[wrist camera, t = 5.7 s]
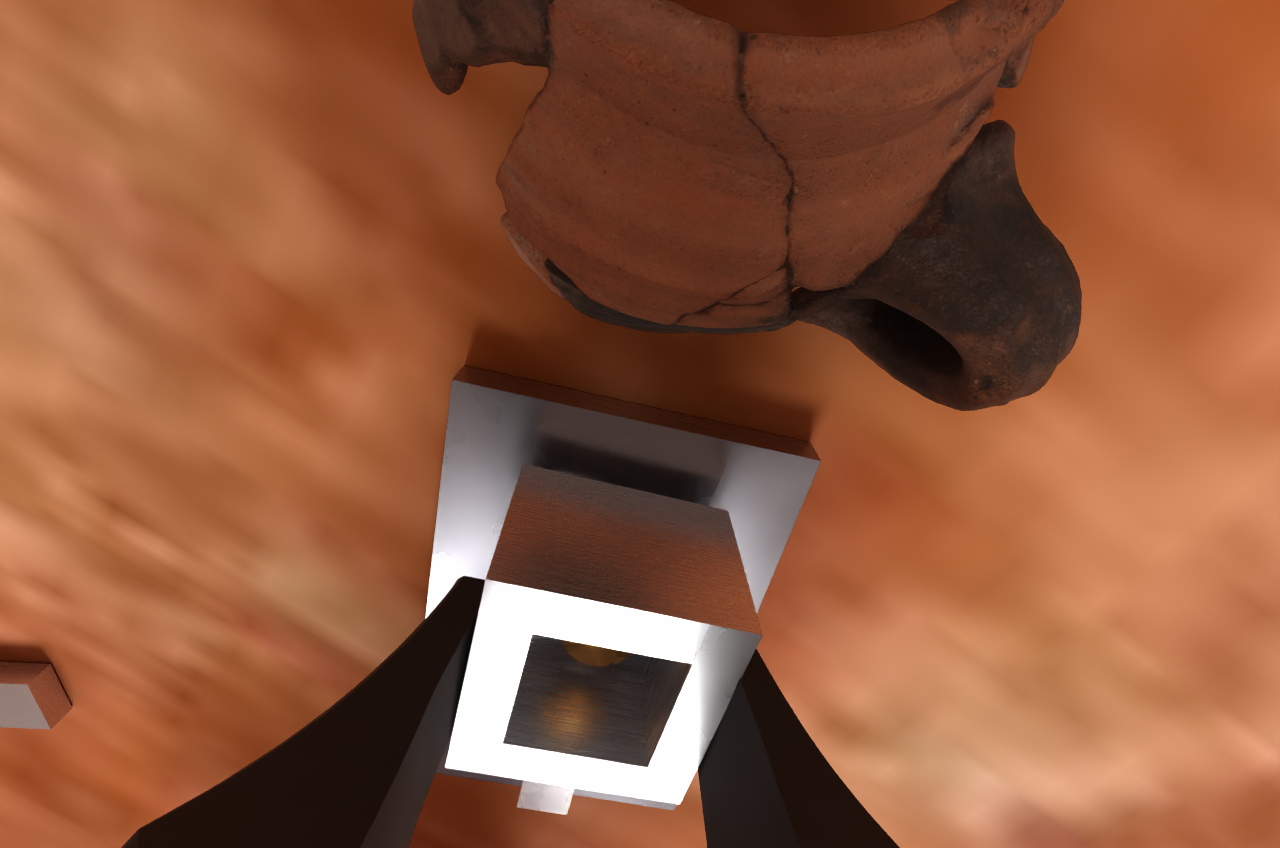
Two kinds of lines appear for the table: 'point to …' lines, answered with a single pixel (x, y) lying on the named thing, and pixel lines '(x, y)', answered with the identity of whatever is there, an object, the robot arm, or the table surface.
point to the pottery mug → (781, 181)
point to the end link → (604, 639)
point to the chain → (31, 696)
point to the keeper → (608, 452)
